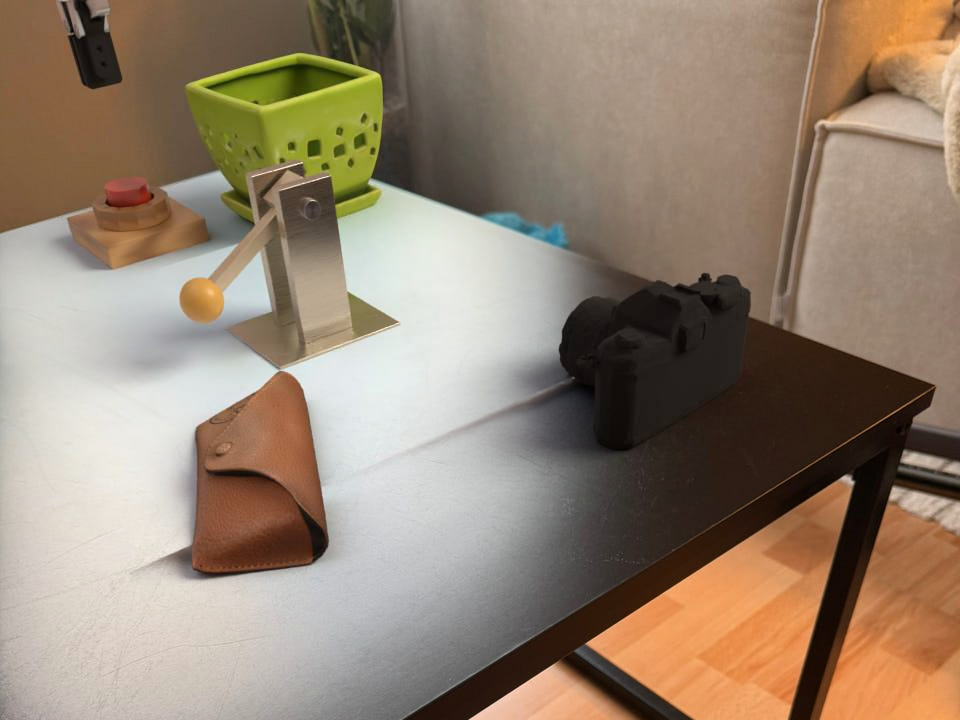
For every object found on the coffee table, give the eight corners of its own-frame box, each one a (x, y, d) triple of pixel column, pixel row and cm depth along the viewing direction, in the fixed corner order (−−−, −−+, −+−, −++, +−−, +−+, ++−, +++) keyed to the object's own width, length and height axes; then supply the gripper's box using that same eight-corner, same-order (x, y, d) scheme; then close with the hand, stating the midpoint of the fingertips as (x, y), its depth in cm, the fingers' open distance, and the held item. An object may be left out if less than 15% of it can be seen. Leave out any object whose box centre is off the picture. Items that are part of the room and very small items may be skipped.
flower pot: (321, 181, 109) (302, 48, 100) (401, 214, 101) (387, 73, 92) (208, 218, 102) (177, 79, 94) (283, 256, 95) (257, 108, 86)
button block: (112, 270, 94) (100, 227, 91) (73, 239, 100) (60, 198, 97) (210, 241, 98) (200, 198, 95) (166, 213, 104) (156, 172, 101)
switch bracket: (283, 381, 77) (249, 210, 68) (228, 341, 82) (191, 177, 74) (402, 336, 82) (384, 170, 73) (343, 300, 87) (320, 142, 78)
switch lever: (211, 338, 75) (182, 309, 72) (192, 323, 76) (163, 295, 74) (327, 207, 75) (302, 174, 72) (306, 196, 77) (280, 163, 74)
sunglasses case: (186, 422, 72) (217, 340, 68) (280, 452, 75) (314, 376, 72) (189, 578, 59) (227, 487, 56) (302, 606, 62) (344, 522, 59)
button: (119, 213, 94) (113, 194, 93) (102, 202, 97) (97, 183, 96) (158, 202, 96) (154, 183, 95) (141, 192, 99) (136, 173, 97)
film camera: (654, 338, 79) (663, 222, 73) (757, 379, 74) (776, 258, 68) (517, 412, 72) (514, 290, 66) (620, 463, 67) (628, 336, 61)
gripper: (-51, -178, 80) (33, 78, 93) (11, -171, 71) (95, 111, 84) (41, -189, 83) (110, 60, 96) (111, -183, 74) (177, 91, 87)
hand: (103, 83), depth 90 cm, fingers closed
